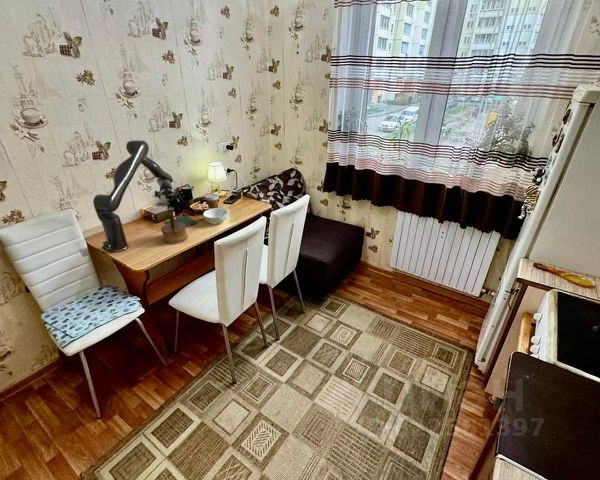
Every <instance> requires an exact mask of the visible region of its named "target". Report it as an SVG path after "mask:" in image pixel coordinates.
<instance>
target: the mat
mask: <svg viewBox="0 0 600 480" xmlns="http://www.w3.org/2000/svg"><path fill="white" fill-rule="evenodd" d="M174 220H175V222H180V223H184V224H185V225H186V228H187V227H191V226H193V225H197V224H198V223H197V222H196V221H195V220H193V219H192V218H191V217H189V216H188V215H185V216H182V217H178V218H174ZM164 223H165V225H166V224H169V223H170V220H166V221H164Z"/></svg>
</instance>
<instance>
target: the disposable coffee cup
mask: <svg viewBox="0 0 600 480" xmlns="http://www.w3.org/2000/svg"><path fill="white" fill-rule="evenodd" d="M219 198H220V196H219V195H218V194H216V193H209V194H207V195H205V200H206V203H207V207H208V209H209V208H210V209H213V208H219Z"/></svg>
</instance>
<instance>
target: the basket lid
mask: <svg viewBox="0 0 600 480" xmlns="http://www.w3.org/2000/svg"><path fill="white" fill-rule="evenodd" d="M168 218H169V221H170V223H169V224H166V223H165V224H164V225H162V226H161V228H160V231H161V232H164V233H177V232H181V231H183V230H184V229H185V228H186V229H187V227H186V225H185V224H184V223H180V222H175V220H174V219H175V215H174V213H173V212H170V213H168Z"/></svg>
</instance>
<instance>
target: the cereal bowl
mask: <svg viewBox="0 0 600 480" xmlns="http://www.w3.org/2000/svg"><path fill="white" fill-rule="evenodd" d="M202 214H203V216H202V217H203V219H204V221H205V222H207V223H209V224H213V225H219V224H222V223H223V222H225V221H227V219H228V217H229V211H228V210H227V209H225V208H221V207H218V208H213V209H209V208H208V209H207V210H205V211H204V212H203V213H202Z"/></svg>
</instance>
